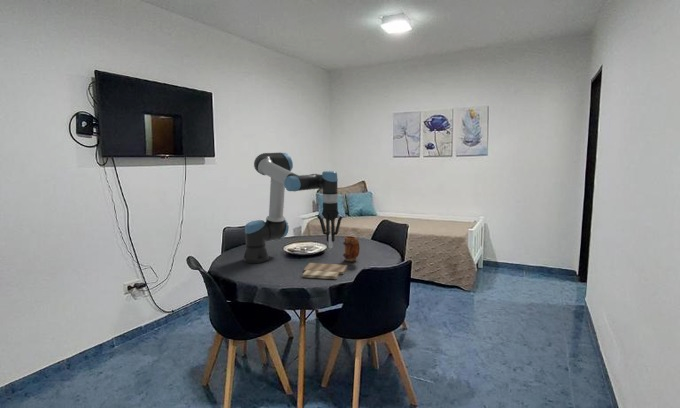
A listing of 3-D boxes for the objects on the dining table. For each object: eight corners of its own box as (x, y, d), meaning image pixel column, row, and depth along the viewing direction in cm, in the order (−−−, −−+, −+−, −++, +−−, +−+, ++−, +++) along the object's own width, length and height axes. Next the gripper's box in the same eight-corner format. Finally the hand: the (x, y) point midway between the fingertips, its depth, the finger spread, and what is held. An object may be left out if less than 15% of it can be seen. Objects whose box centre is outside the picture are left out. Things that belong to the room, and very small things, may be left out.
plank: (302, 277, 194) (302, 274, 194) (306, 272, 201) (306, 270, 201) (336, 279, 190) (336, 276, 190) (339, 274, 198) (339, 272, 198)
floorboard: (303, 272, 202) (303, 269, 202) (309, 265, 214) (309, 262, 214) (343, 274, 198) (343, 272, 197) (347, 267, 209) (347, 264, 209)
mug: (341, 259, 225) (340, 235, 223) (353, 257, 228) (353, 233, 226) (351, 266, 212) (351, 240, 209) (364, 264, 215) (364, 238, 213)
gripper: (315, 202, 184) (316, 249, 188) (341, 203, 182) (341, 250, 185) (319, 200, 192) (320, 245, 195) (344, 201, 189) (344, 246, 193)
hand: (330, 247), depth 190 cm, fingers closed
